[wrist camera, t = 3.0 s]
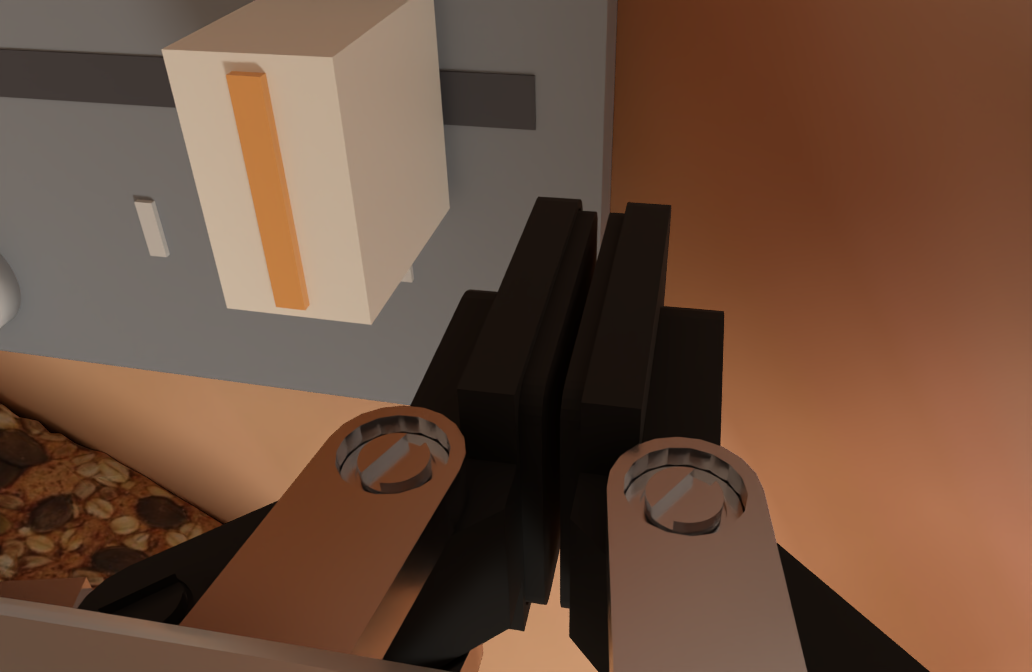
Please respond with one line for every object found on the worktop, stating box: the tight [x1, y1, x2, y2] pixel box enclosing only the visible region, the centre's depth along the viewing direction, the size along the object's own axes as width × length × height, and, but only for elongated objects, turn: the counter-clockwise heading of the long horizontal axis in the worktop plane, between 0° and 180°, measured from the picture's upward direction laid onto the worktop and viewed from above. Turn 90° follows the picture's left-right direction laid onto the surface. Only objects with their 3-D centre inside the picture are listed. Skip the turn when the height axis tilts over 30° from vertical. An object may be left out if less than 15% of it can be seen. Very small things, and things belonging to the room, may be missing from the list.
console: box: [0, 0, 618, 405], centre depth 22 cm, size 24×16×3 cm, turn 92°
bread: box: [0, 404, 223, 588], centre depth 31 cm, size 19×11×10 cm, turn 60°
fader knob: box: [161, 0, 450, 325], centre depth 17 cm, size 3×5×5 cm, turn 2°
